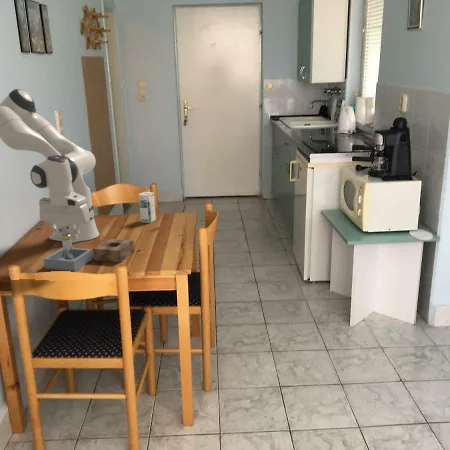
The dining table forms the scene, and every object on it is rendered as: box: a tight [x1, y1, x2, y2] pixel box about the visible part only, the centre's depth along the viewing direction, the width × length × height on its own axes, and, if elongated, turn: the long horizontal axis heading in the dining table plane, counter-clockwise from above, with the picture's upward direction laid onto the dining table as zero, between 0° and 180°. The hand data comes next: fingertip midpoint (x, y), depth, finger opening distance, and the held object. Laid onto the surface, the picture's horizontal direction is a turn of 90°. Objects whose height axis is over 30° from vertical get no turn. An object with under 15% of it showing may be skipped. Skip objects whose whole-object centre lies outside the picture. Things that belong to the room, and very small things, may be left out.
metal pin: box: [61, 233, 74, 260], centre depth 194 cm, size 4×4×11 cm
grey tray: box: [43, 247, 94, 272], centre depth 195 cm, size 13×13×4 cm
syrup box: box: [138, 191, 157, 224], centre depth 245 cm, size 6×6×14 cm
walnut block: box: [92, 238, 135, 263], centre depth 201 cm, size 12×12×5 cm
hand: (66, 232), depth 192 cm, fingers open, 8 cm apart
